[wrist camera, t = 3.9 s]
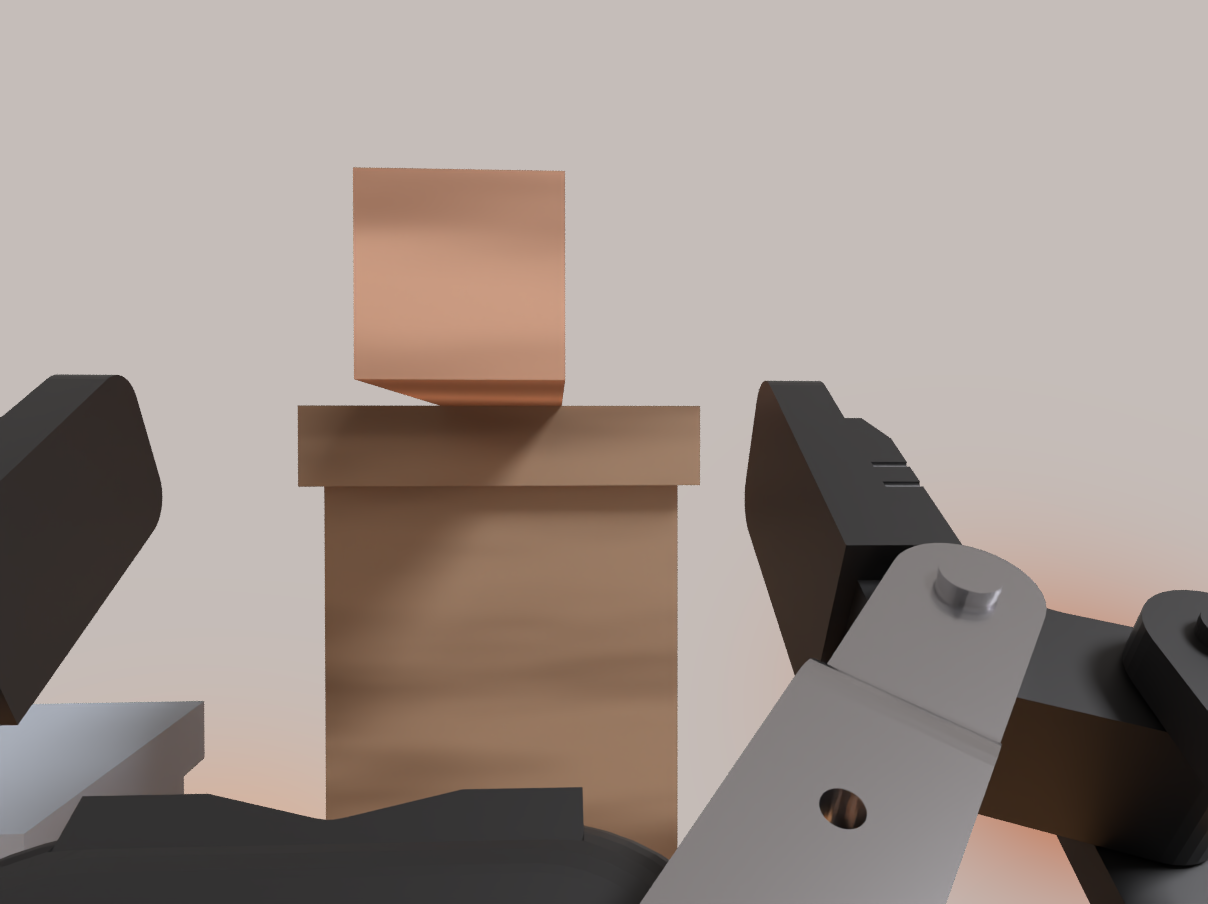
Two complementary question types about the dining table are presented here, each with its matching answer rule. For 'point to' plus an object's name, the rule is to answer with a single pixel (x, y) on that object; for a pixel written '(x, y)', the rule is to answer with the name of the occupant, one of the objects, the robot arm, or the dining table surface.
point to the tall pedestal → (503, 603)
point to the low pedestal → (90, 761)
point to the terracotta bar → (460, 284)
